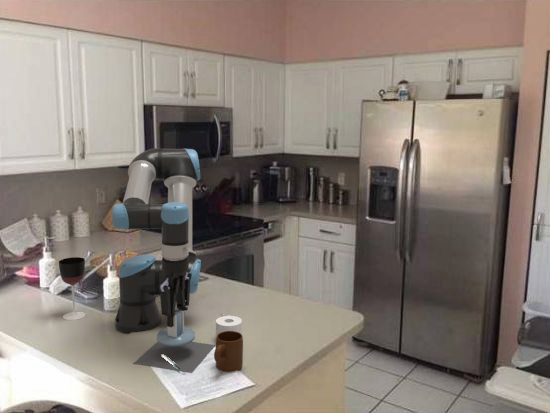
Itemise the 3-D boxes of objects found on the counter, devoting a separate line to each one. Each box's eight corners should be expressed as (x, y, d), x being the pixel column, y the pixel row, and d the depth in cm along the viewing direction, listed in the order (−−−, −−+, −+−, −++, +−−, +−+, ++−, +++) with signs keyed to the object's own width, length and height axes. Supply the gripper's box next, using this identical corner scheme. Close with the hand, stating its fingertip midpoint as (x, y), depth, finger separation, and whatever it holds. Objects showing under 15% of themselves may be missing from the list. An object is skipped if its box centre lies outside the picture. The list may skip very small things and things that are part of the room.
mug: (228, 383, 133) (228, 350, 131) (203, 377, 135) (203, 345, 134) (246, 364, 144) (247, 333, 142) (223, 358, 147) (223, 328, 145)
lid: (150, 343, 143) (149, 317, 142) (167, 327, 154) (166, 302, 152) (185, 348, 141) (185, 322, 139) (200, 332, 151) (200, 307, 150)
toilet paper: (225, 330, 166) (225, 311, 165) (246, 342, 158) (247, 321, 157) (204, 337, 161) (205, 317, 159) (226, 349, 153) (226, 328, 151)
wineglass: (56, 318, 173) (53, 262, 169) (74, 309, 181) (72, 256, 177) (73, 322, 170) (71, 265, 166) (92, 313, 178) (90, 259, 174)
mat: (132, 365, 141) (132, 363, 141) (162, 339, 158) (162, 337, 158) (191, 374, 137) (191, 372, 137) (215, 346, 154) (215, 345, 154)
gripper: (169, 266, 134) (170, 347, 138) (201, 251, 148) (201, 325, 153) (146, 262, 137) (148, 341, 141) (180, 248, 151) (181, 320, 156)
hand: (176, 333), depth 147 cm, fingers closed on lid, 3 cm apart
